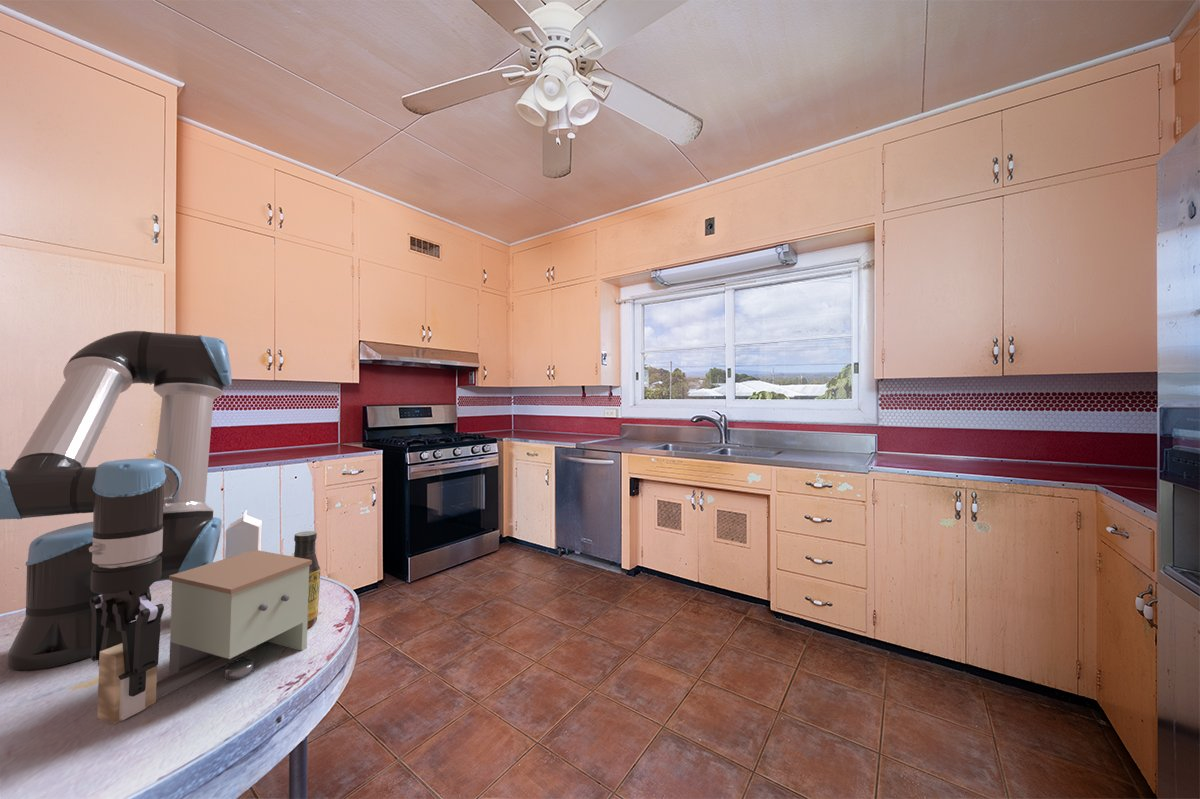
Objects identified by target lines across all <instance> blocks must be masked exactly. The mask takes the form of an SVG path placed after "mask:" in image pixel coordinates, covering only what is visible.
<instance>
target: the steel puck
mask: <svg viewBox="0 0 1200 799" xmlns="http://www.w3.org/2000/svg"><path fill="white" fill-rule="evenodd" d="M254 666H255V660H254V659H253V658H251V657H246V658H241V659H235V660H233V661H231V662H229V663H227V664H226V666H225V667H224V680H225V681H226V682H236V681H239V680H242V679H243V680H244V679H245V678H247V677H249V676H250V675H251V674H253V673H254V671H255V670H254V669H255V668H254Z"/></svg>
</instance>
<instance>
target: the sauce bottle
mask: <svg viewBox="0 0 1200 799" xmlns="http://www.w3.org/2000/svg"><path fill="white" fill-rule="evenodd" d="M317 533H318V532H317V531H315V530H309V531H299V532H297V533H295V534H294V539H293V541H294V551H293V553H294V554H293V557H298V558H303V559H309V560H312V564H311V565H309V590H308V621H307V629H309V628H311V627H312V626H315V624H316V622H317V620H318V615H319V598H320V586H321V584H320V583H321V582H320V581H321V567H320V565H319V562H318V559H317V555H316V539H317V535H318V534H317Z"/></svg>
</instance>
